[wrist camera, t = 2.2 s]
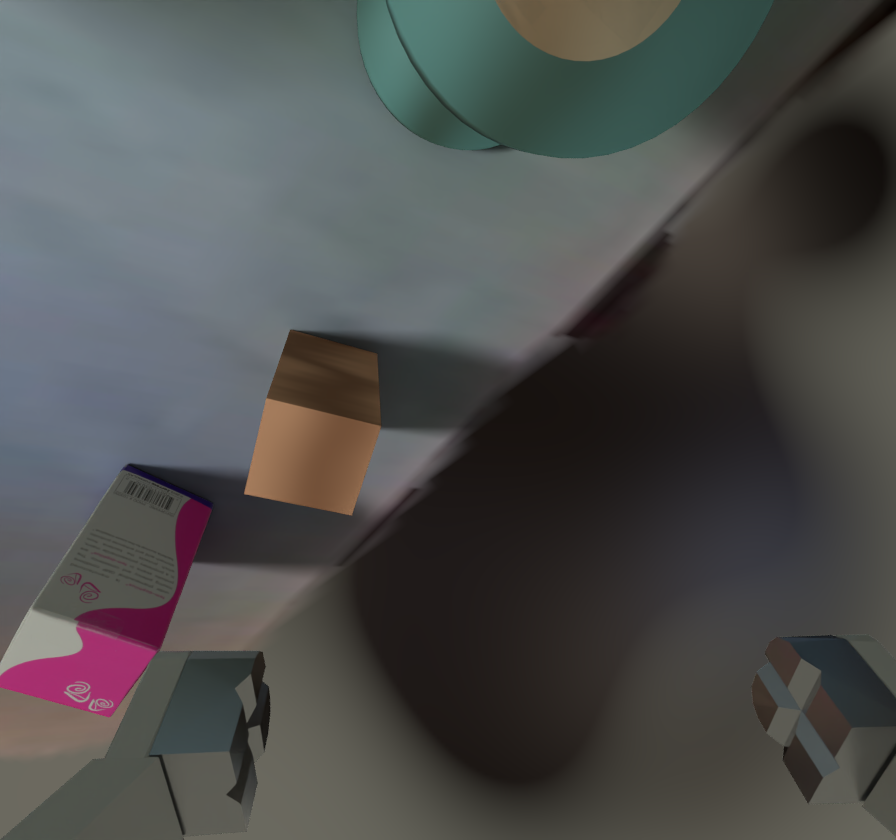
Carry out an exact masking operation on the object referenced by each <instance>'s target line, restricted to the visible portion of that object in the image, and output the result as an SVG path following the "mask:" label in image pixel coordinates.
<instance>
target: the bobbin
mask: <svg viewBox="0 0 896 840" xmlns="http://www.w3.org/2000/svg"><path fill="white" fill-rule="evenodd" d="M773 1H774V0H357V26H358V38H359V44H360V51H361V55H362V58H363V62H364V66H365V69H366V71H367V74H368V76H369V79H370V81H371V84H372V85H373V87H374V89H375V91H376V93H377V95H378V96H379V98H380V99H381V101H382V102H383V104H384V105H385V106H386V108H387V109H388V110H389V111H390V113H391V114H392V115H393V116H394V117H395V118H396V119H397V120H398V121H399V122H400V123H401V124H402V125H404V126H405V127H406V128H407V129H408V130H410V131H411V132H413V133H414V134H416V135H418V136H419V137H421V138H423V139H425V140H427V141H429V142H432V143H434V144H437V145H441V146H444V147H447V148H453V149H459V150H479V149H486V148H491V147H494V146H498V145H503V146H507V147H510V148H513V149H516V150H519V151H523V152H528V153H533V154H537V155H544V156H550V157H557V158H589V157H595V156H602V155H608V154H612V153H615V152H619V151H622V150H626V149H629V148H632V147H634V146H636V145H639V144H641V143H643V142H645V141H648V140H650V139H652V138H654V137H656V136H658V135H659V134H661V133H663V132H664V131H666V130H668V129H669V128H671V127H673V126H674V125H676V124H677V123H679V122H680V121H681V120H682V119H684V118H685V117H686V116H687V115H689V114H690V113H691V112H693V111H694V110H695V109H696V108H698V107H699V106H700V105H701V104H702V103H703V102H704V101H705V100H706V99H707V98H708V97H709V96H710V95H711V94H712V93H713V92H714V91H715V90H716V89H717V88H718V87H719V86H720V85H721V83H722V82H723V81H724V80H725V79H726V77H727V76H728V75H729V74H730V73H731V71H732V70H733V69H734V68H735V67H736V65H737V64H738V62H739V61H740V59H741V58H742V56H743V55H744V53H745V52H746V51H747V49H748V48H749V46H750V45H751V43H752V42H753V40H754V38H755V37H756V35H757V33H758V31H759V29H760V27H761V26H762V24H763V22H764V20H765V18H766V16H767V14H768V13H769V11H770V8H771V6H772V4H773Z"/></svg>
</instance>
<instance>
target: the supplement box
mask: <svg viewBox="0 0 896 840" xmlns="http://www.w3.org/2000/svg"><path fill="white" fill-rule="evenodd" d="M212 509H213V503H211V502H210V501H207V500H205V499H203V498H200V497H198V496H196V495H194V494H192V493H189V492H187V491H185V490H183V489H181V488H178V487H176V486H174V485H172V484H169V483H167V482H165V481H163V480H160V479H158V478H156V477H154V476H151V475H149V474H147V473H145V472H143V471H140V470H138V469H136V468H134V467H132V466H129V465H125V466H124V468H123V469H122V470H121V471H120V473H119V474H118V476H117V477H116V479H115V480H114V481H113V483H112V484H111V486H110V487H109V489H108V490H107V492H106V493H105V495H104V496H103V498H102V499H101V501H100V502H99V504H98V505H97V507H96V509H95V510H94V512H93V513H92V515H91V516H90V518H89V519H88V521H87V523H86V524H85V526H84V527H83V529H82V530H81V532H80V533H79V535H78V536H77V538H76V539H75V541H74V542H73V544H72V545H71V547H70V548H69V550H68V551H67V553H66V554H65V556H64V557H63V559H62V560H61V562H60V563H59V565H58V566H57V568H56V570H55V571H54V573H53V574H52V576H51V577H50V579H49V580H48V582H47V583H46V585H45V586H44V588H43V589H42V591H41V592H40V594H39V595H38V597H37V598H36V600H35V601H34V603H33V604H32V606H31V608H30V609H29V611H28V613H27V614H26V616H25V618H24V620H23V621H22V623H21V625H20V627H19V629H18V631H17V633H16V634H15V636H14V638H13V640H12V642H11V644H10V645H9V647H8V649H7V651H6V653H5V655H4V657H3V659H2V661H1V663H0V687H1V688H5V689H9V690H12V691H16V692H20V693H23V694H27V695H31V696H34V697H38V698H41V699H45V700H49V701H52V702H56V703H59V704H63V705H67V706H71V707H74V708H78V709H81V710H85V711H89V712H92V713H96V714H99V715H103V716H106V717H111V716H112V714H113V713H114V712H115V710H116V709H117V707H118V706H119V704H120V703H121V702H122V700H123V699H124V698H125V696H126V695H127V694H128V692H129V691H130V690H131V688H132V687H133V686H134V684H135V683H136V681H137V680H138V679H139V677H140V676H141V675H142V673H143V672H144V671H145V669H146V668H147V666H148V664H149V662H150V661H151V659H152V658H153V657H154V656H155V655H156V654H157V653H158V652H159V651H160V649H161V646H162V643H163V641H164V638H165V635H166V633H167V630H168V627H169V624H170V621H171V619H172V616H173V613H174V611H175V608H176V605H177V603H178V600H179V598H180V595H181V592H182V590H183V587H184V584H185V581H186V579H187V576H188V573H189V570H190V568H191V565H192V562H193V560H194V557H195V554H196V552H197V549H198V546H199V544H200V541H201V538H202V536H203V533H204V530H205V528H206V525H207V522H208V520H209V517H210V514H211V512H212Z"/></svg>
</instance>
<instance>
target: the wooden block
mask: <svg viewBox="0 0 896 840" xmlns="http://www.w3.org/2000/svg"><path fill="white" fill-rule="evenodd" d="M380 429H381V412H380V395H379V377H378V359H377V353H373V352H370V351H366V350H362V349H359V348H355V347H352V346H348V345H344V344H341V343H337V342H334V341H330V340H326V339H323V338H319V337H315V336H312V335H308V334H305V333H301V332H297V331H294V330H290V332H289V335H288V338H287V341H286V344H285V346H284V349H283V352H282V355H281V358H280V361H279V364H278V367H277V369H276V372H275V375H274V378H273V381H272V384H271V387H270V390H269V392H268V395H267V398H266V402H265V407H264V411H263V415H262V419H261V424H260V428H259V432H258V437H257V441H256V445H255V449H254V454H253V458H252V462H251V467H250V471H249V475H248V479H247V484H246V488H245V492H244V494H247V495H252V496H257V497H262V498H267V499H272V500H277V501H282V502H287V503H292V504H297V505H302V506H307V507H312V508H317V509H322V510H327V511H332V512H337V513H342V514H347V515H352V513H353V510H354V507H355V504H356V501H357V498H358V495H359V492H360V489H361V486H362V483H363V480H364V477H365V474H366V471H367V468H368V465H369V462H370V459H371V456H372V453H373V450H374V447H375V444H376V441H377V438H378V435H379V432H380Z"/></svg>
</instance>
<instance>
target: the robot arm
mask: <svg viewBox="0 0 896 840" xmlns="http://www.w3.org/2000/svg"><path fill="white" fill-rule="evenodd" d="M765 655H766V657H767V658H768V660H769V663H768V664H766V665H765V666H764V667H762V668H761V669H760V670H759V671H757V672H756V675H755V678H754V681H753V684H752V686H751V687H752V700H753V705H754V708H755V711H756V714H757V717H758V719H759V721H760V722H761V724H762V726H763V728H764V730H765V731H766V733H767V734H768V735H770V736H771V737H772V738H774V739H775V740H776V741H778V742H779V743H780V744H781V745H783V746H784V748H783V762H784V764H785V766H786V767H787V769H788V771H789V772H790V774H791V776H792V778H793V779H794V781H795V782H796V784H797V786H798V788H799V789H800V791H801V793H802V794H803V796H804V798H805V800H806V801H807V803H808V804H846V803H864V804H863V805H862V807H863V808H864V809H865V810H867V811H868V812H869V813H870V814H871V815H872V816H873V817H874V818H876V819H877V820H878V821H879V822H880V823H881V824H882V825H883V826H884V827H886V828H887V829H888V830H889V831H890V832H891V833H892V834H893V835H895V836H896V660H895V659H894V657H893V656H892V655H891V654H890V653H889V652H888V651H887V650H886V649H885V648H884V646H883V645H882V644H881V643H880V642H879V641H877V640H876V639H874V638H872V637H871V636H869V635H836V636H833V635H815V636H791V637H776V638H775V639H774V640H772V641H770V642H769V644H768V647H767V649H766V651H765ZM265 668H266V666H265V660H264V655H263V652H262V651H159V652H158V653H157V654H156V655H155V656H154V657H153V658H152V659H151V661H150V662H149V664H148V666H147V668H146V670H145V672H144V675H143V677H142V679H141V681H140V683H139V685H138V687H137V690H136V692H135V694H134V696H133V698H132V700H131V702H130V705H129V707H128V709H127V711H126V713H125V715H124V717H123V719H122V722H121V724H120V726H119V728H118V730H117V732H116V734H115V737H114V739H113V741H112V743H111V745H110V747H109V750H108V752H107V754H106V756H105V758H103V759H93V760H92V761H90V762H89V763H88V764H87V765H86V766H85V767H83V768H82V769H81V770H80V771H79V772H78V773H77V774H75V775H74V776H73V777H72V778H71V779H70V780H69V781H67V782H66V783H65V784H64V785H63V786H61V787H60V788H59V789H58V790H57V791H56V792H55V793H53V794H52V795H51V796H50V797H49V798H48V799H46V800H45V801H44V802H43V803H42V804H41V805H40V806H38V807H37V808H36V809H35V810H34V811H33V812H32V813H30V814H29V815H28V816H27V817H26V818H25V819H24V820H22V821H21V822H20V823H19V824H18V825H17V826H15V827H14V828H13V829H12V830H11V831H10V832H8V833H7V834H6V835H5V836H4V837H3V838H2V839H0V840H184V838H183V837H184V836H197V835H210V834H222V833H235V832H246V831H247V828H248V824H249V819H250V815H251V810H252V806H253V801H254V797H255V792H256V788H257V784H258V782H257V776H256V770H255V765H254V763H255V762H256V761H257V760H258V759H259V758H260V756H261V755H262V754H263V753H264V752H265V746H266V742H267V737H268V731H269V722H270V692H269V686H268V685H266V684H265V683H264V682H263V681H262V680H263V675H264V672H265Z"/></svg>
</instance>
